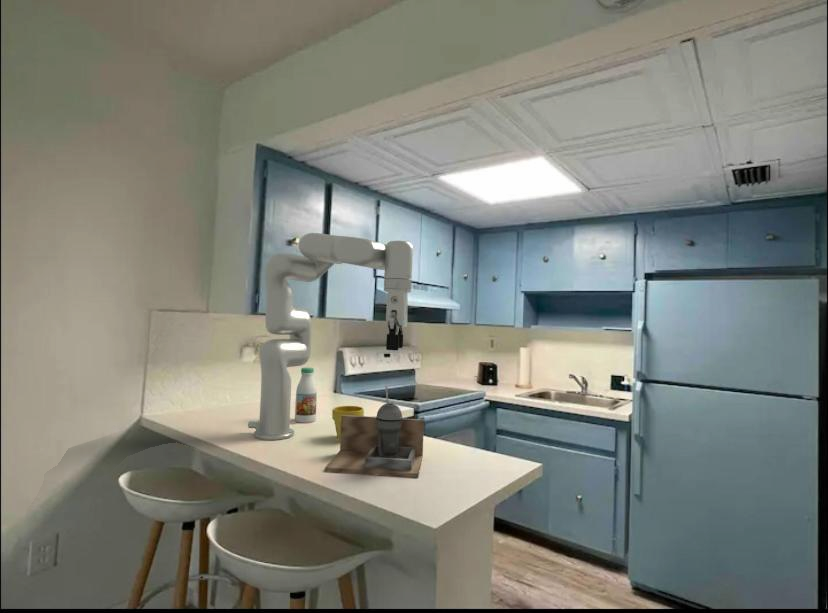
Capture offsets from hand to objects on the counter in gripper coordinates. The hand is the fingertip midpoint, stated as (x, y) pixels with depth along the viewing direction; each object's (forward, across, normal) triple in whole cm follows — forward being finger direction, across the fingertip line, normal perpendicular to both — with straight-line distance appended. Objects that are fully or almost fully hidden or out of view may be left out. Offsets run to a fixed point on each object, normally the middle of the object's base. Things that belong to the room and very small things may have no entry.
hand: (394, 348), depth 121 cm
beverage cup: (+31, 0, 0) cm, 31 cm away
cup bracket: (+32, 0, +4) cm, 32 cm away
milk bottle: (+32, +44, +38) cm, 67 cm away
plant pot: (+32, +24, +18) cm, 44 cm away
